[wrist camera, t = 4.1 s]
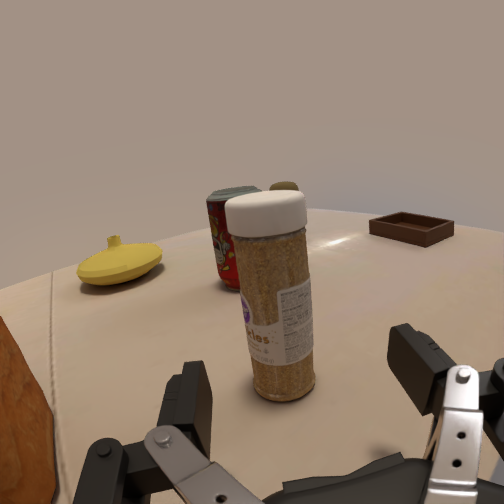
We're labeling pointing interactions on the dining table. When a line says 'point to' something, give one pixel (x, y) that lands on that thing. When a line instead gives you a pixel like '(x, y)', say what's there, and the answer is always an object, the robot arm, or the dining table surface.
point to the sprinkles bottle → (275, 289)
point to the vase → (119, 262)
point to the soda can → (225, 234)
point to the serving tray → (412, 228)
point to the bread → (23, 430)
